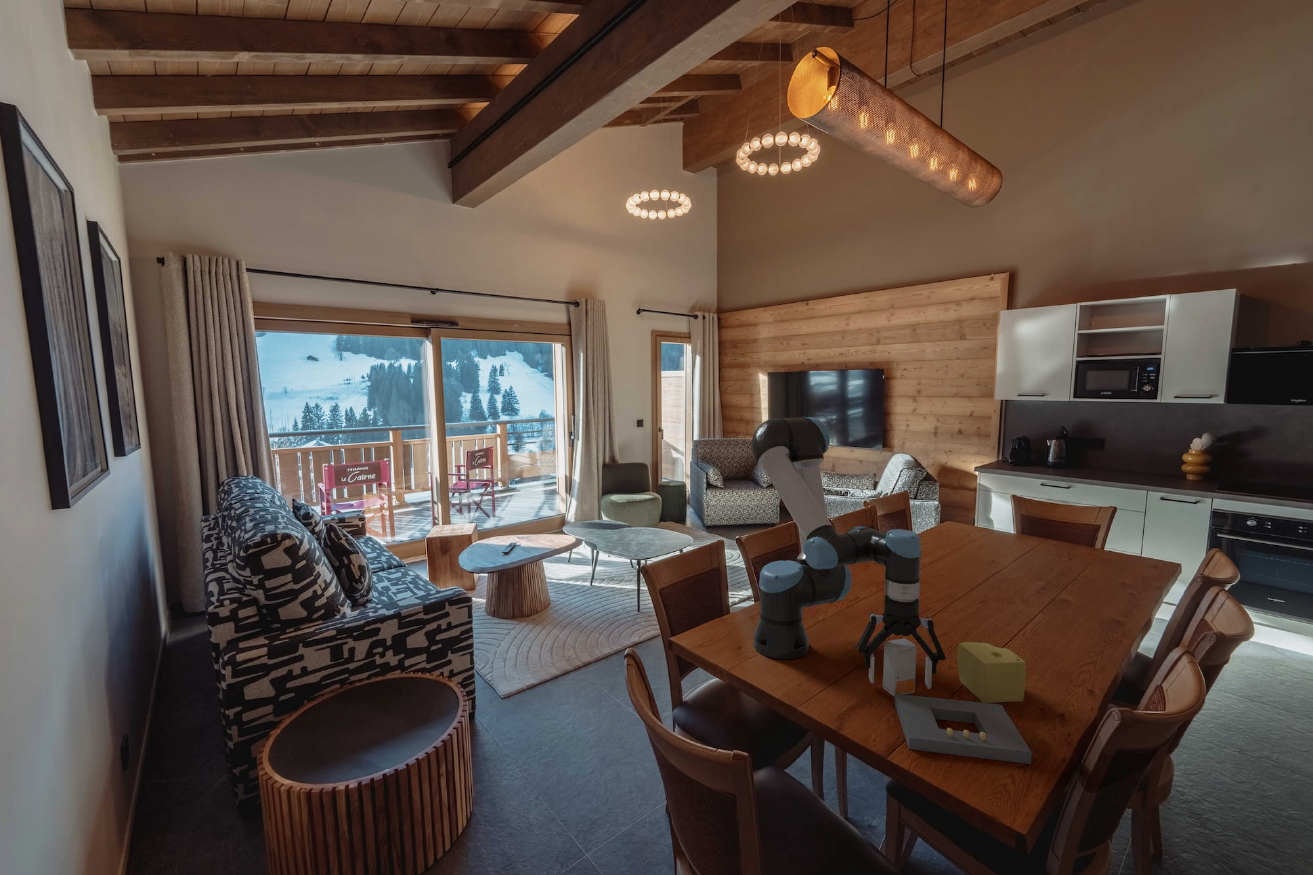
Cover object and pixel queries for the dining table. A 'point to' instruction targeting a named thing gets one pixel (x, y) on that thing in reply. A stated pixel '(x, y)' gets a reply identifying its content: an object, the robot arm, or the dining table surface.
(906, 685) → the skincare box
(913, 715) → the grey frame plate
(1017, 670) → the cheese
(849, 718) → the dining table surface
